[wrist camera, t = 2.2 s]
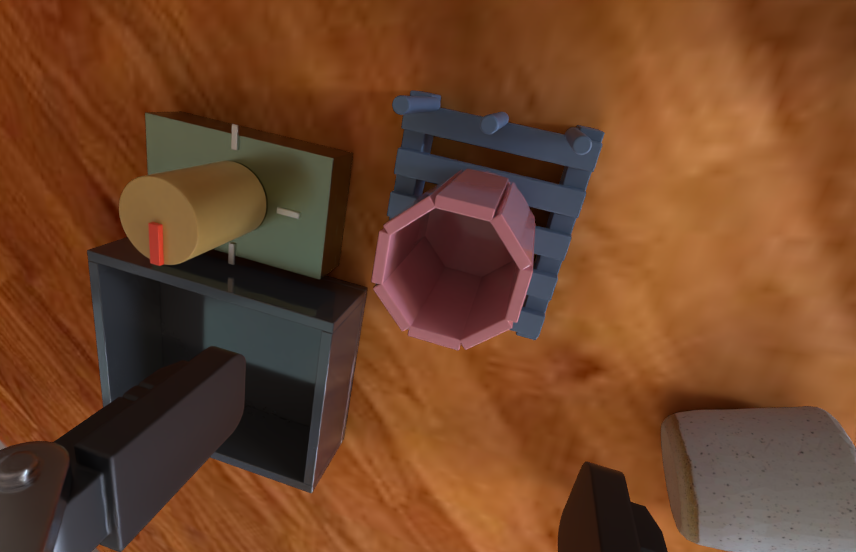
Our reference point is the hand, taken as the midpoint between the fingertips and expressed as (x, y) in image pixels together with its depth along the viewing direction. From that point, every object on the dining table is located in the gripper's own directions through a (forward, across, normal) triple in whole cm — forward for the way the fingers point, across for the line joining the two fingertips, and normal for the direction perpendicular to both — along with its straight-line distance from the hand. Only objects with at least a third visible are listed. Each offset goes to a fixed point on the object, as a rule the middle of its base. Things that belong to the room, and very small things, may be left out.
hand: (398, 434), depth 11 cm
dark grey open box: (+19, +15, +13) cm, 27 cm away
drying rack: (+19, 0, -1) cm, 19 cm away
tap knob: (+16, +15, +1) cm, 22 cm away
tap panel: (+19, +15, +1) cm, 24 cm away
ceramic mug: (+19, -18, +10) cm, 29 cm away
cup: (+16, 0, -1) cm, 16 cm away
